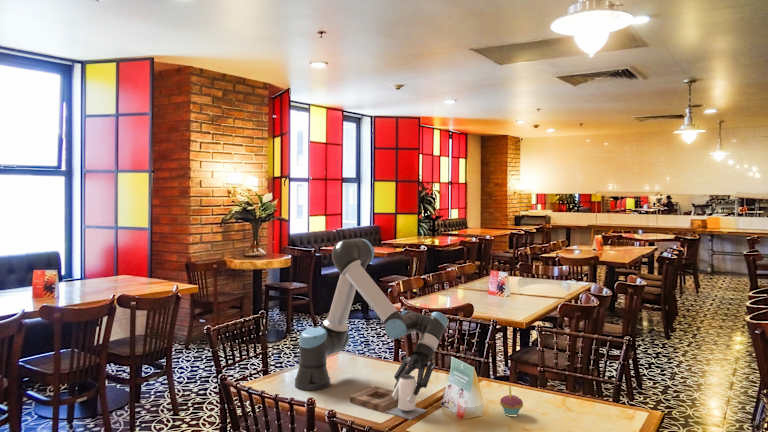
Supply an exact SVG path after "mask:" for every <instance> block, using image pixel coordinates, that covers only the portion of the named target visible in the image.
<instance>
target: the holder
mask: <svg viewBox="0 0 768 432" xmlns="http://www.w3.org/2000/svg"><path fill="white" fill-rule="evenodd" d="M393 392H394V390H392V389H387V388H384V387H379V386H378V385H374V386H371V387H369V388H367V389H364V390H361V391H360V392H357V393H353V394H352V395H350V396H349V403H350V404H353V405H356V406H357V405H358V406H360V407H364V408H368V409H370V410H374V411H378V412H380V413H384V412H387V411H389V410H391V409H393V408H395V407H397V406H398V397H399V395H398V397H397V399H394V398H393V397H392V394H393Z"/></svg>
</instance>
